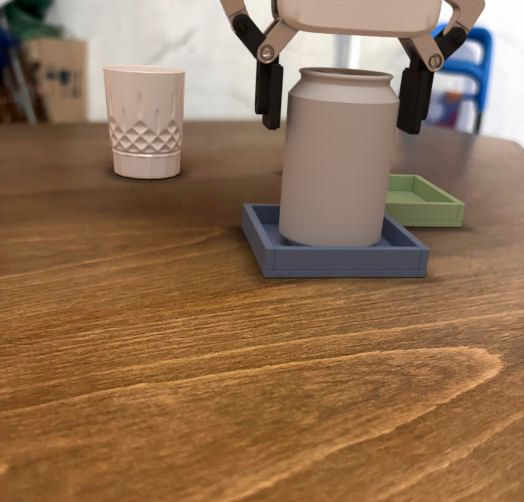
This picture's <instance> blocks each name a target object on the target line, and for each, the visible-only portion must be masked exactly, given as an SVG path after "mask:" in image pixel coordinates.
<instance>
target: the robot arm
mask: <svg viewBox="0 0 524 502" xmlns="http://www.w3.org/2000/svg"><path fill="white" fill-rule="evenodd" d="M443 1H444V2H445V3H447V4H448V5H449V6H450V7H451V9H452V13H451V16H450V18H449V20H448V23H447V24H446V26H444V27H443V28H442V29H441V30H440V31H439V32H438V33H437V34H436V35H435V36H434V37H433V34H432V32H433V31H435V29H436V27H437V25H438V24H439V23H438V22H439V19H440V16H441V12H442V6H443ZM219 2H220V5H221V7H222V10H223V12H224V14H225V16H226V18H227V21H228V23H229V26H230V29H231V31H232V32H233V33H234V35H235V36H236V37H237V38H238V39H239V41H240V42H241V44H243V46H244V47H245V48H246V49H247V51H249V53H250V55H251V56H252V57H253V59H255V60H256V63H255V84H254V113H255V115H259V116H261V122H262V125H263V126H264V128H266V129H267V130H268V131H277V130H278V129H280V128H281V119H282V118H281V117H282V102H283V87H284V73H285V72H284V71H285V70H284V69H285V68H284V66H283V65H282V64H281V63H280V54H281V53H282V52H283V50H284V49H285V48H286V47H287V46H288V44H289V43H290V42H291V41H293V40H292V39H293V38H294V37H295V36H296V35H297V34H298V33H299V32H300V31H301V32H305V33H311V34H312V33H313V34H325V35H339V36H340V35H341V36H355V37H356V36H359V37H374V38H375V37H376V38H377V37H378V38H393V39H395V38H396V39H397V40H398V41H399V43H400V45H401V47H402V48H403V50H404V52H405V54H406V55H407V57H408V59H409V65H408V67H406V66H405V67H404V69H402V71H401V78H400V86H399V90H398V91H399V92H398V98H399V100H400V104H399V111H398V118H397V125H396V128H397V129H398V130H400V131H402V132H404V133H406V134H408V135H416V136H418V135H420V132H421V127H422V121H426V120H427V118H428V115H429V110H430V103H431V97H432V92H433V91H432V90H433V84H434V78H435V72H438V71H440V70H441V69H442V67H443V66H444V63H445V61H447V60H448V59H449V58H450V57H451V56H453V54H455V52H457V51H458V50H459V49H460V48H461V47H462V46H463V45H464V44H465V42H466V40H467V36H468V34H469V33H470V32H471V31H472V29H473V28H474V26H475V24H476V23H477V21H478V19H479V18H480V17H481V15H482V13H483V12H484V10H485V7H486V0H270V11H271V16H272V18H273V20H272V21H271V23H270V24H268V26H267V27H266V28H265V29H264V31H263V32H262V30H261V29H260V28H259V26H257V24H256V23H255V22H254V20H253V19H252V18H251V17H250V14H249V12H248V9H247V6H246V3H245V0H219Z"/></svg>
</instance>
